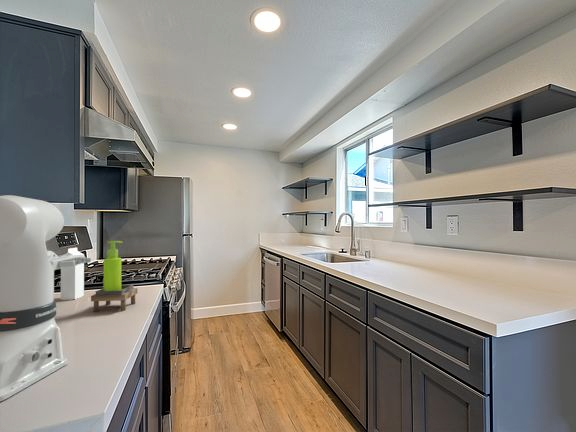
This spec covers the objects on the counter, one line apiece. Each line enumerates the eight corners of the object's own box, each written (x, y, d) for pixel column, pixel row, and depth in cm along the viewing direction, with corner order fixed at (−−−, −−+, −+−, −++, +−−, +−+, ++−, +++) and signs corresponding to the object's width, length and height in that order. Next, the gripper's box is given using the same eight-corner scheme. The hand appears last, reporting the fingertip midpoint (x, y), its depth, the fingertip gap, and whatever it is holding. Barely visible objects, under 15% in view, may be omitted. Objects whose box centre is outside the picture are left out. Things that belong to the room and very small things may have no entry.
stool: (124, 311, 108) (125, 290, 108) (90, 312, 107) (90, 291, 107) (137, 302, 119) (137, 284, 119) (106, 303, 118) (106, 285, 118)
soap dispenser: (114, 295, 108) (115, 241, 108) (99, 294, 110) (100, 241, 110) (127, 291, 114) (127, 240, 114) (112, 290, 115) (112, 240, 116)
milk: (83, 296, 131) (84, 247, 131) (74, 299, 125) (75, 248, 125) (69, 296, 130) (70, 247, 131) (60, 300, 124) (60, 248, 125)
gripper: (63, 266, 121) (97, 265, 123) (23, 275, 101) (65, 274, 102) (63, 251, 122) (98, 250, 123) (23, 257, 101) (65, 256, 102)
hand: (83, 261), depth 112 cm, fingers open, 8 cm apart
